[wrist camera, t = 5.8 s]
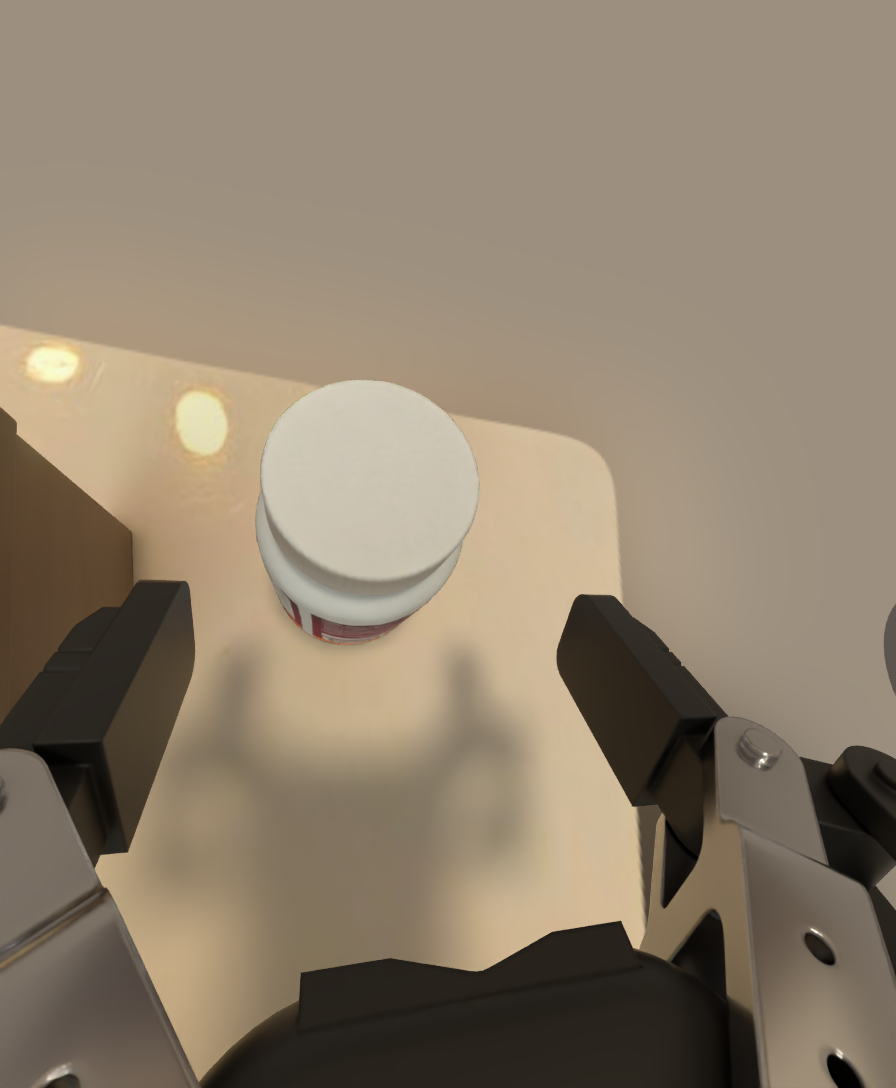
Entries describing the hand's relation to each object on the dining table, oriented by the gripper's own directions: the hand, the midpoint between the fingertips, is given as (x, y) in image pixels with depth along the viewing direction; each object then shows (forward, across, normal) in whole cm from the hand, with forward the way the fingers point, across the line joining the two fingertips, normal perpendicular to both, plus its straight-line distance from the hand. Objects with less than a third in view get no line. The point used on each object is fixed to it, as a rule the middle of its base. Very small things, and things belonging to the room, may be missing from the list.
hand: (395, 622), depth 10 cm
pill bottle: (+11, 0, +6) cm, 12 cm away
